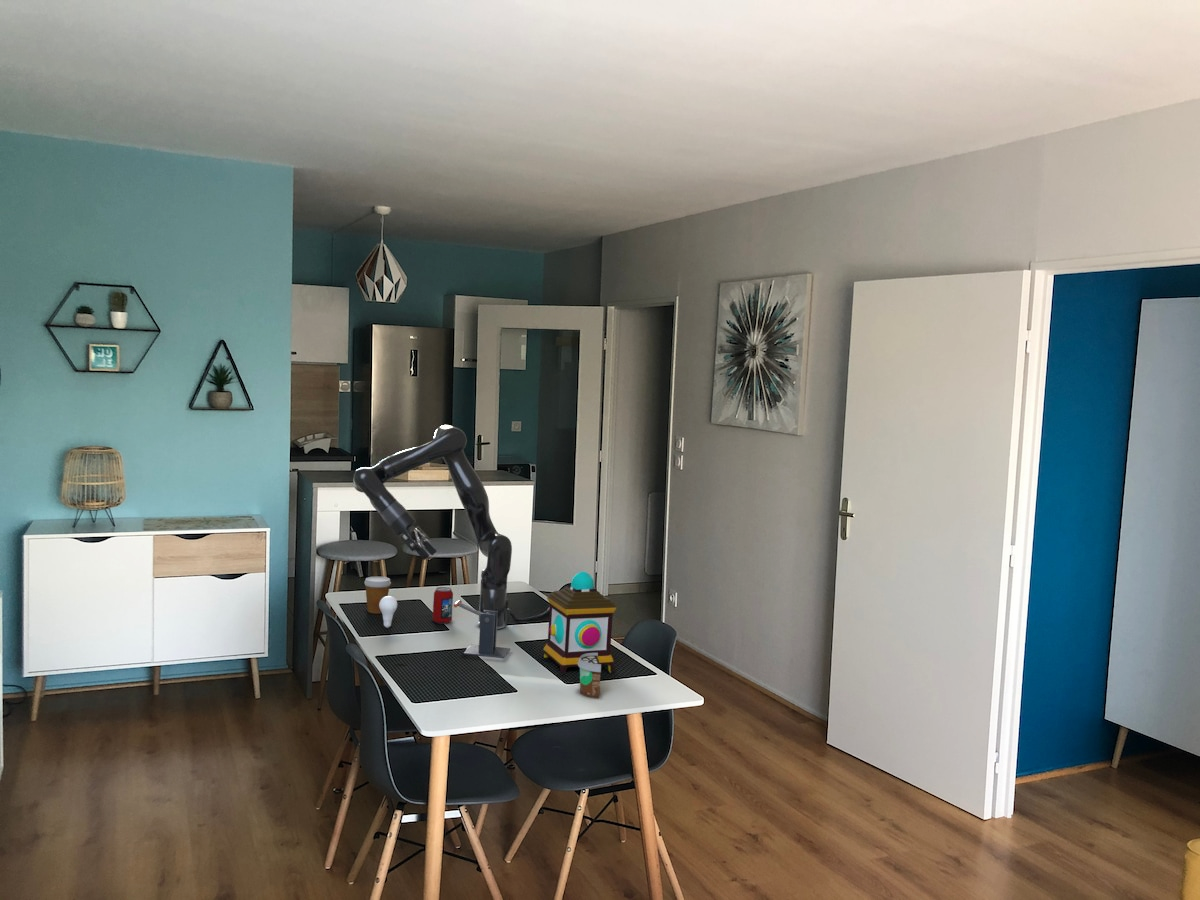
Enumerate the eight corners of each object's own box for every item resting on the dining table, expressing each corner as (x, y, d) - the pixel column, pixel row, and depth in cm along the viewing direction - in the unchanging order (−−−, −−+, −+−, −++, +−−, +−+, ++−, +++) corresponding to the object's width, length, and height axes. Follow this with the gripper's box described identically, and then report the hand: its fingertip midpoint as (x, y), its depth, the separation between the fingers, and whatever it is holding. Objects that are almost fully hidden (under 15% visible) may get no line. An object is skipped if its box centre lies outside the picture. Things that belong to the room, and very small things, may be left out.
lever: (452, 608, 296) (455, 601, 296) (456, 604, 301) (459, 597, 301) (489, 625, 295) (492, 618, 295) (493, 621, 300) (496, 614, 300)
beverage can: (447, 625, 331) (449, 591, 330) (429, 623, 332) (431, 589, 331) (454, 620, 337) (456, 587, 336) (436, 618, 339) (438, 585, 338)
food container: (574, 684, 275) (576, 651, 274) (595, 685, 275) (597, 652, 275) (577, 699, 263) (579, 664, 262) (599, 700, 263) (601, 665, 262)
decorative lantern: (536, 658, 298) (542, 565, 296) (594, 655, 306) (599, 564, 304) (559, 678, 280) (564, 579, 277) (619, 674, 287) (625, 577, 285)
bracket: (462, 657, 294) (465, 614, 293) (470, 648, 304) (473, 606, 303) (503, 661, 293) (506, 618, 292) (510, 652, 303) (512, 610, 302)
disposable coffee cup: (376, 616, 337) (377, 583, 336) (357, 611, 342) (358, 578, 341) (395, 611, 345) (396, 579, 344) (376, 606, 350) (377, 575, 349)
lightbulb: (399, 626, 325) (401, 595, 324) (390, 630, 319) (391, 599, 318) (384, 624, 327) (385, 593, 326) (374, 628, 321) (376, 596, 320)
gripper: (399, 513, 297) (433, 552, 297) (412, 507, 311) (445, 544, 311) (382, 529, 298) (415, 567, 298) (396, 522, 312) (428, 559, 312)
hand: (430, 555), depth 304 cm, fingers open, 8 cm apart
